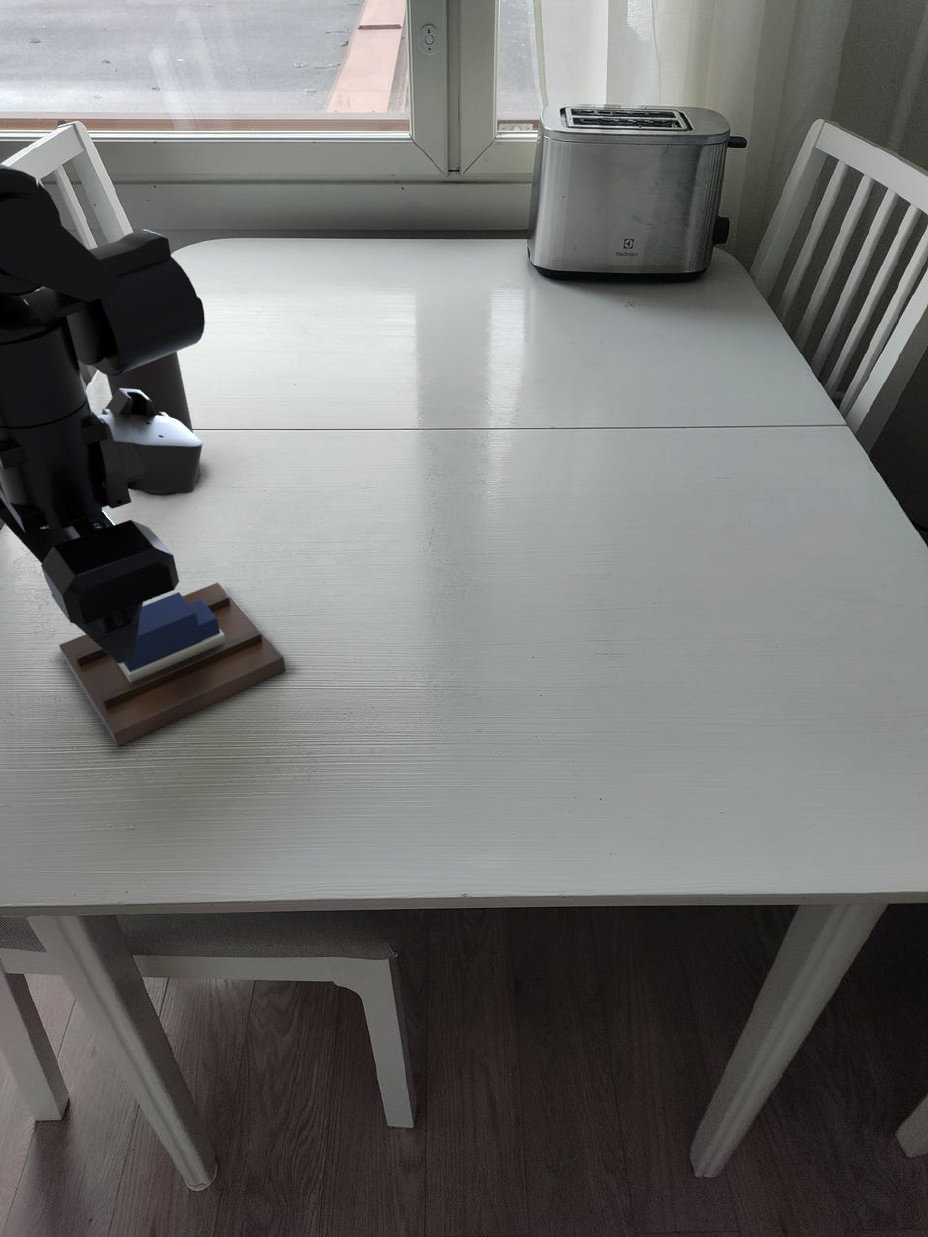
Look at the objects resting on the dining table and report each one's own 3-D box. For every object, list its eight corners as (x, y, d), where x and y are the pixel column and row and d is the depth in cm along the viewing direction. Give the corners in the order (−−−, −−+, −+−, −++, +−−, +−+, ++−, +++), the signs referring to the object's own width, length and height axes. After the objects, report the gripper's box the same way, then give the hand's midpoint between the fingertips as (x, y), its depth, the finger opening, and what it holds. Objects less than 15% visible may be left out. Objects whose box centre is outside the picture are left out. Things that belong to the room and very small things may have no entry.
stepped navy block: (131, 684, 74) (119, 645, 71) (113, 658, 76) (101, 620, 73) (226, 643, 77) (218, 605, 75) (207, 620, 80) (198, 582, 77)
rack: (117, 747, 71) (110, 726, 69) (63, 658, 78) (55, 637, 77) (286, 670, 77) (282, 649, 76) (221, 595, 85) (216, 574, 83)
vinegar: (205, 459, 102) (168, 272, 89) (196, 494, 97) (156, 301, 84) (140, 461, 102) (94, 274, 89) (128, 496, 96) (77, 303, 83)
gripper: (244, 429, 51) (277, 650, 61) (111, 315, 62) (157, 516, 72) (31, 495, 45) (105, 725, 55) (-72, 357, 57) (5, 568, 67)
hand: (98, 621), depth 62 cm, fingers open, 9 cm apart
